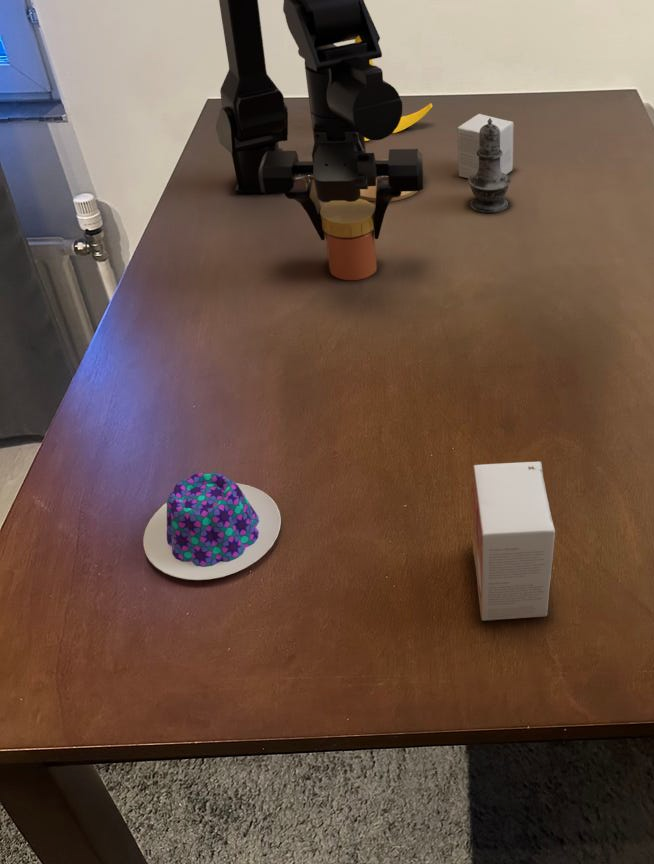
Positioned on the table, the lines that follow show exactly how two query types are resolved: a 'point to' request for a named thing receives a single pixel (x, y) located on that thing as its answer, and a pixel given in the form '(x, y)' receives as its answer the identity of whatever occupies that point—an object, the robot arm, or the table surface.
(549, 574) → the small box
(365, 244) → the jar
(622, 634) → the table surface
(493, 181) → the grey tall turned piece
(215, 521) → the pudding
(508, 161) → the product box
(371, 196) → the coaster
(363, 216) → the jar lid
